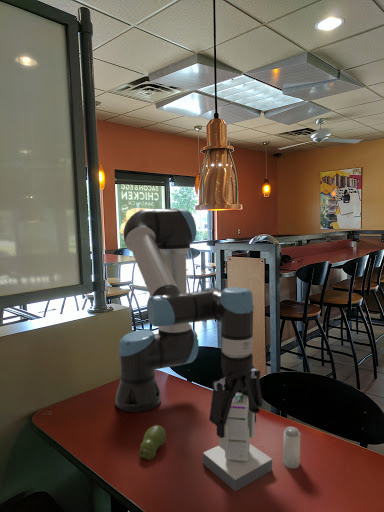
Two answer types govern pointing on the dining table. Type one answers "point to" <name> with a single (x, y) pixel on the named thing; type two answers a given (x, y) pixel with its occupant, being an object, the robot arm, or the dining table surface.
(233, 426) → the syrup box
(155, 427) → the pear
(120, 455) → the dining table surface
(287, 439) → the shaker
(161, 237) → the robot arm
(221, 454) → the riser
